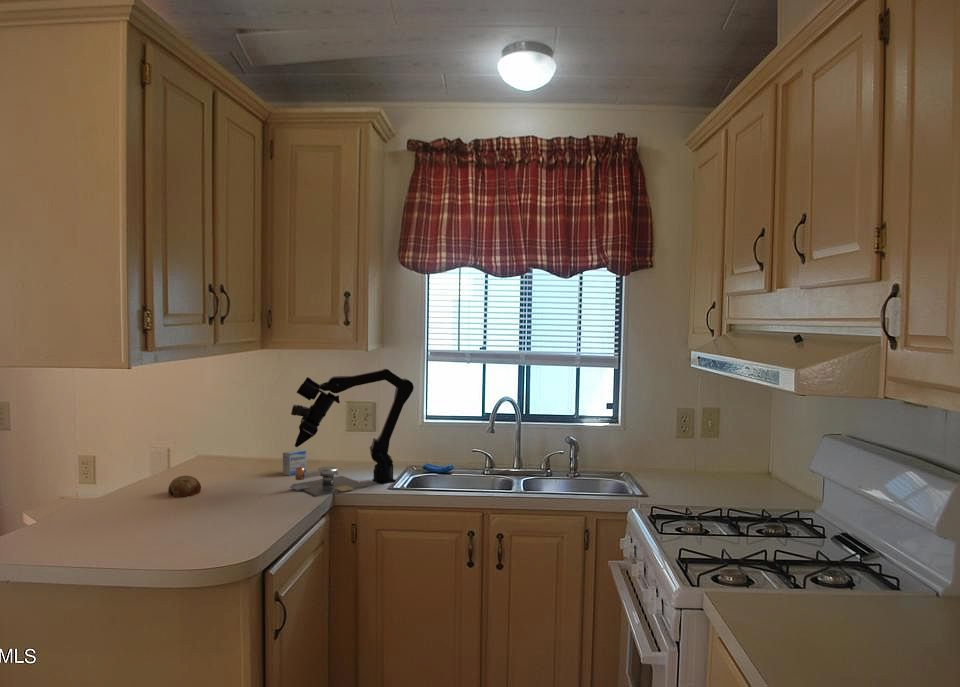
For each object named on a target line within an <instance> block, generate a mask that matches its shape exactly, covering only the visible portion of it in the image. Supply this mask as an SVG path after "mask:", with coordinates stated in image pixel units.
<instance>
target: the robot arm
mask: <svg viewBox="0 0 960 687" xmlns="http://www.w3.org/2000/svg"><path fill="white" fill-rule="evenodd" d="M381 381H386V382H388V383H389V384H391V385H392V386H394V387H395V391H394V397H393V398H394V399H393V402H392V404H391V406H390V409H389V412H388V414H387V417H386V419H385V422H384V425H383V427H382V429H381V432H380V434H379V436H378V437H377V439H376V438H375V437H374V438H372V442H371V445H370V446H369V450H370V456H371V460H372V461H373V462H375V463H376V464H374V469H373V478H372V480H371V481H372V482H375V483H377V484H381V485H383V484H387V483H392V482H393V483H394V482H396V479H394V464H393V463H394V461H393V458H392V456H390V455H389V453H388V452H389V448H390V443H391V442H390V441H391V438H392V435H393V432H394V430H395V427H396V425H397V423H398V420H399V417H400V414H401V412H402V410H403V408H404V405H405V404H406V402H407V400H408V399H409V398H410V397H411V395H412V393H413V391H414V387H415V386H414V383H413V382H412V381H411V380H410V379H408V378H401V377H400V376H397V374H395V373H394V372H392V371H391V370H390V369H389V368H383V369H379V370H375V371H370V372H366V373H360V374H356V375H336V376H335V375H334V376H332V377H330V378H329V379H328V381H325V382H322V383H317V382H316V381H314V380H313V379H312V378H310V377H309V376H306V378H305V380H304V381H303V383H301V384H300V385H299V387H298V389H297V391H296V394H298V395H300V396H301V397H303V398H304V399H306V400H308V401H312V400H315V401H314V402H313V403H312V405H310V406H309V407H307V406H303V405H300V404H298V405H297V404H293V405H292V409H291V413H290V414H291V416H299V417H301V420H300V424H299V426H298V430H299V433H298V434H297V438H296V440H295V443H294V447H295V448H298V447H300V446H301V445H303V444H304V443H305V442H307V441H308V440H310V439H312V438H314V436H316V434H317V433H318V432H319V429H318V427H319V426H320V424H321V423H322V420H323V419H324V418H325V417H326V415H327V413H328V411H329V410H330V408H331V407H332V406H333V404H334V402H335V403H337V404H340V403H341V402H340V395H339V394H340V393H342V392H344V391H347V390H349V389H351V388H353V387H357V386H363V385H366V384H367V385H368V384H371V383H376V382H377V383H378V382H381ZM327 391H328V392H327ZM335 394H338V395H335Z"/></svg>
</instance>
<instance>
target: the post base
mask: <svg viewBox="0 0 960 687" xmlns="http://www.w3.org/2000/svg"><path fill="white" fill-rule="evenodd" d="M289 488H291V489H292V490H295V491H300V490H301V491H302V492H304V493H307V494H309V495H312V496H313V497H315V498H317V497H321V496H323V497H324V496H327V495H332V494H338V493H342V492H347V491H353V490H357V489H359V490H360V489H363V488H368V484H365V483H363V482H359V481H357V480H354V479H352V478H349V477H346V476H343V475H337V476H329V477H324V476H322V479H316V480H315V479H314V480H310V481H303V482H299V483H293V484H291V485H290V486H289Z"/></svg>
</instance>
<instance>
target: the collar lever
mask: <svg viewBox="0 0 960 687" xmlns="http://www.w3.org/2000/svg"><path fill="white" fill-rule="evenodd" d="M294 476H295V480H296V481H302V480H305V479H309V478H314V477H315V478H316V477H323V476H324V477H329V476H334V477H336V476H339V467H338V466H337V467H336V466H323V467H319V468H318V469H317V470H312V471H306V472H304V467H296V468H295V475H294Z"/></svg>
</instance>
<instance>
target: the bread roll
mask: <svg viewBox="0 0 960 687" xmlns="http://www.w3.org/2000/svg"><path fill="white" fill-rule="evenodd" d="M201 489H202V486H201V483H200V481H199V480H198V479H197V478H195V477H194V476H192V475H180V476H177V477H175V478H173V480H172V481H171V482H170V483H169V485H168V490H167V491H168V497H172V496H173V497H174V498H188V496H189V497H193V496H195V494H196V495H198V494H199V493H200V492H201ZM173 497H172V498H173Z"/></svg>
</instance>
